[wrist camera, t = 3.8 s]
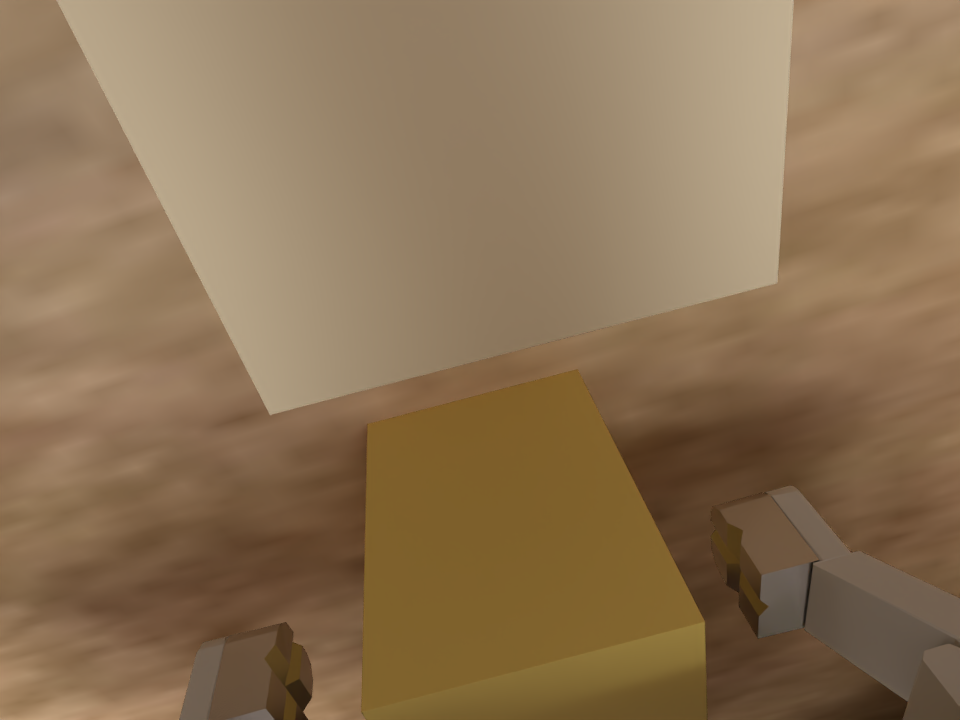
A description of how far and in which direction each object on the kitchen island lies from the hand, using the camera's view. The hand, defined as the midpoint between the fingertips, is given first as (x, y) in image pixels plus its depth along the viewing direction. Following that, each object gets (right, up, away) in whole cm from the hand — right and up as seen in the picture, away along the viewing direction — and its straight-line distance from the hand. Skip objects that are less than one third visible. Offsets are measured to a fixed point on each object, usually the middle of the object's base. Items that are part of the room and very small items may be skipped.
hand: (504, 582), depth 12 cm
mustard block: (0, +2, +2) cm, 3 cm away
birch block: (-1, +9, -3) cm, 10 cm away
